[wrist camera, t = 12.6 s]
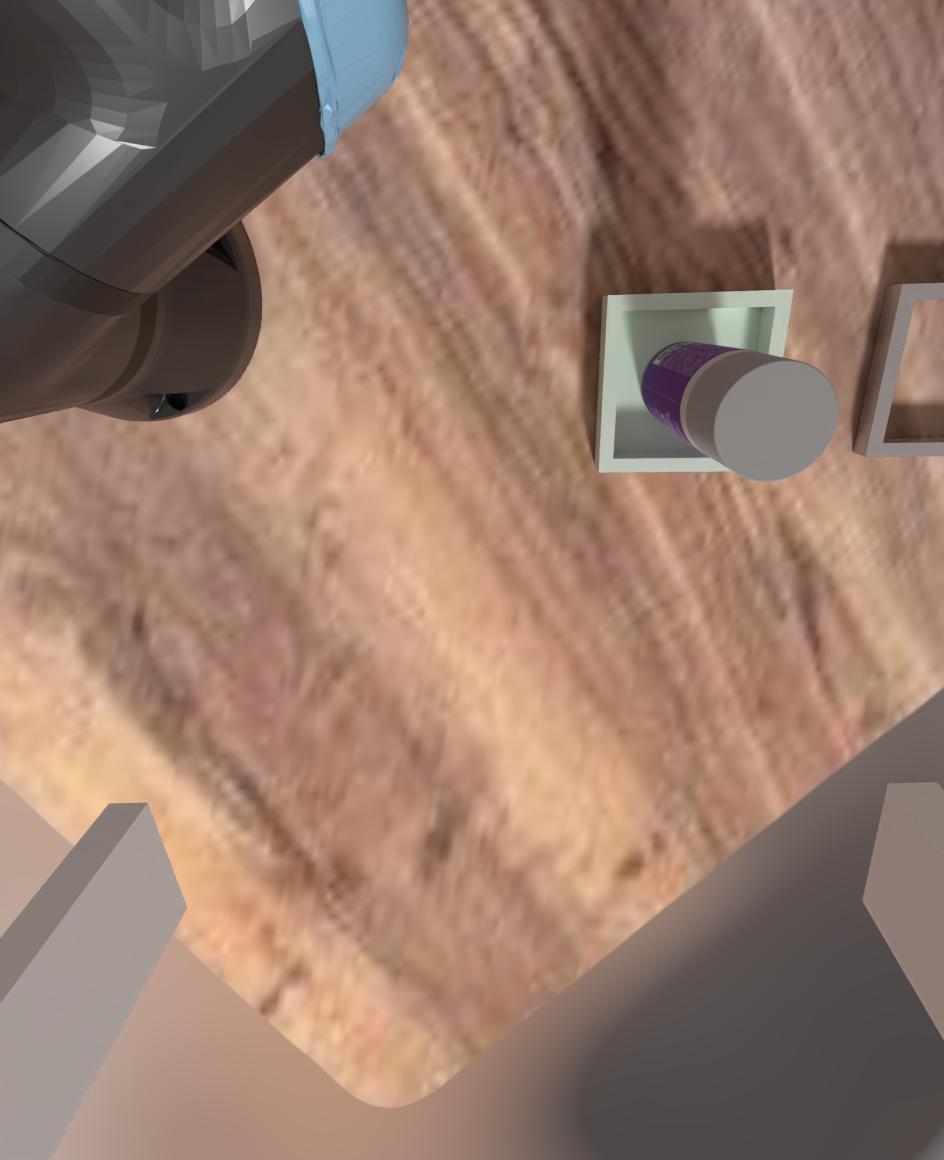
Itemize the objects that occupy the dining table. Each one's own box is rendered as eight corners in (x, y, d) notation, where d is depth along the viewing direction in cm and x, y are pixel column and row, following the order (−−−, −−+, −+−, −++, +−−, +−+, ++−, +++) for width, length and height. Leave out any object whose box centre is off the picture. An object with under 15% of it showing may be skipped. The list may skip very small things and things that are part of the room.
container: (629, 413, 38) (691, 469, 24) (655, 332, 36) (739, 341, 22) (704, 432, 38) (808, 498, 24) (734, 352, 36) (866, 373, 22)
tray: (594, 463, 40) (598, 472, 37) (602, 296, 36) (607, 295, 34) (751, 461, 39) (765, 470, 37) (775, 291, 35) (793, 289, 33)
